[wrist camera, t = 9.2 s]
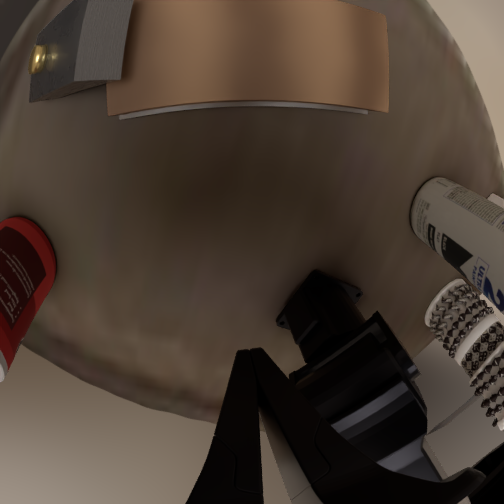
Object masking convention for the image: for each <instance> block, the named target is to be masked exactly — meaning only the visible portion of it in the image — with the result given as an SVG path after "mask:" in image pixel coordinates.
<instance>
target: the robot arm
mask: <svg viewBox="0 0 504 504" xmlns="http://www.w3.org/2000/svg"><path fill="white" fill-rule="evenodd" d="M317 275H318V276H317ZM315 276H317V277H315ZM314 277H315V278H314ZM362 295H363V292H362V291H361V289H359V288H357V287H355V286H353V285H350V284H348V283H346V282H343V281H341V280H339V279H336V278H334V277H332V276H329V275H327V274H325V273H323V272H320V271H317V270H316V271H313V272H312V273H311V274H310V275H309V277H308V278H307V279H306V281H305V282H304V283H303V285H302V286H301V287H300V289H299V290H298V291H297V293H296V294H295V295H294V297H293V298H292V299H291V301H290V302H289V303H288V305H287V306H286V307H285V309H284V310H283V312H282V313H281V314H280V315H279V317H278V318H277V320H276V323H277V326H279V327H282V328H286V329H290V330H291V333H292V335H293V338H294V341H295V343H296V344H297V345H299V348H300V350H301V353H302V356H303V358H304V361H305V363H308V364H306V365H305V366H303V367H301V368H300V369H298V370H297V371H293V372H292V373H290V374H289V379H288V378H287V377H286V375H285V374H284V373H283V372H282V371H281V370H280V368H279V367H278V366H277V365H276V364H275V363H274V361H273V360H272V359H271V358H270V357H269V356H268V354H267V353H266V352H265V351H264V350H263V349H262V348H260V347H259V348H252V349H250V351H249V350H248V349H244V350H238V351H237V353H236V356H235V360H234V364H233V367H232V371H231V375H230V378H229V382H228V386H227V389H226V393H225V397H224V400H223V404H222V408H221V411H220V415H219V418H218V422H217V426H216V429H215V433H214V435H215V436H213V440H212V444H211V446H210V449H209V453H208V456H207V459H206V461H205V463H204V466H203V469H202V471H201V473H200V475H199V477H198V479H197V481H196V483H195V485H194V488H193V490H192V492H191V494H190V496H189V498H188V500H187V502H186V503H185V504H264V499H263V482H262V467H261V466H262V464H261V446H260V428H259V413H260V416H261V419H262V422H263V425H264V428H265V431H266V434H267V437H268V440H269V443H270V446H271V449H272V451H273V454H274V457H275V460H276V463H277V465H278V468H279V471H280V473H281V476H282V478H283V482H284V484H285V487H286V489H287V492H288V495H289V497H290V500H291V502H292V504H504V442H503V443H502V444H500V445H499V446H497V447H496V448H495V449H493V450H492V451H491V452H489V453H488V454H487V455H486V456H485V457H483V458H482V459H481V460H479V461H478V462H477V463H476V464H475V465H473V466H472V467H471V468H470V467H467V468H465V469H463V470H461V471H459V472H457V473H455V474H454V475H452V476H450V477H448V476H447V474H446V473H445V471H444V469H443V467H442V466H441V464H440V462H439V461H438V459H437V457H436V456H435V454H434V452H433V451H432V449H431V447H430V446H429V444H428V442H427V441H426V439H425V438H424V436H425V435H426V434H427V417H426V416H427V407H426V405H425V402H424V400H423V397H422V394H421V392H420V390H419V387H418V386H417V384H416V383H415V381H414V380H416V379H417V378H418V377H420V376H421V373H420V371H419V370H418V368H417V367H416V365H415V363H414V362H413V360H412V359H411V357H410V355H409V354H408V352H407V351H406V349H405V348H404V346H403V345H402V343H401V342H400V340H399V339H398V338H397V336H396V335H395V333H394V332H393V331H392V329H391V328H390V327H389V325H388V324H387V323H386V321H385V320H384V319H383V317H382V316H381V315H380V313H379V312H378V311H376V312H375V313H374V314H373V315H372V317H371V318H369V319H368V320H367V321H366V320H365V318H364V317H363V315H362V314H361V312H360V311H359V309H358V308H357V306H356V305H355V304H356V302H357V301H358V300H359V299H360V298H361V296H362ZM282 321H283V322H282Z"/></svg>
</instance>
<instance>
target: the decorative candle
mask: <svg viewBox="0 0 504 504" xmlns="http://www.w3.org/2000/svg"><path fill="white" fill-rule="evenodd" d="M424 319H425V324H426V325H427V326H429V327H430V331H431V332H433V334H436V339H438V340H439V342H443V343H444V344H443V347H444V349H446V350H449V351H450V352H449V356H450V357H451V358H455V360H456V362H457V363H458V364H459V366H462V367H463V368H464V369H465V372H466V373H467V374H468V375H469V376H470V378H471V379H470V382H469V384H470V386H471V387H472V386H475V385H476V386H477V388H476V391H475V393H474V394H475V396H478V395H481V394H482V395H483V397H484V398H485V400H483V402H482V404H481V407H482V408H484V407H487V406H490V407H489V408H488V410H487V413H486V416H487V417H490V416H496V420H494V422H493V424H492V425H493V426H494V427H495V426H496V425H498V426H499V428H500V430H501V431H502V430H503V431H504V326H503V325H501V322H500V320H499V319H498V318H497V317H496V315H495V314H494V311H493V309H492V307H487V303H486V301H485V300H480V297H479V294H478V293H477V292H476V291H473V290H472V287H471V286H470V285H468V284H466V283H465V282H464V280H463V279H455V280H453V281H451V282H449V283H448V284H447V285H446V286H445V287H444V288H442V289H441V290H440V291H439V293H438V294H437V295H436V296H435V298H434V299H433V300H432V302H431V303H430V305H429V307H428V309H427V311H426V314H425V318H424Z"/></svg>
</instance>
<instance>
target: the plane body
mask: <svg viewBox="0 0 504 504" xmlns="http://www.w3.org/2000/svg"><path fill="white" fill-rule="evenodd" d="M106 90H107V109H108V116H115V115H119V120H123V119H128V118H133V117H139V116H144V115H151V114H157V113H164V112H172V111H181V110H190V109H201V108H215V107H236V106H282V107H304V108H317V109H329V110H338V111H347V112H354V113H361V114H368V110H370V111H379V112H387V113H388V106H389V55H388V37H387V24H386V16H385V15H383V14H380V13H377V12H374V11H371V10H368V9H365V8H362V7H359V6H355V5H352V4H348V3H344V2H341V1H337V0H134V1H133V5H132V9H131V14H130V19H129V24H128V29H127V35H126V41H125V47H124V55H123V62H122V71H121V80H117V81H113V82H109V83H106Z"/></svg>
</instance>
